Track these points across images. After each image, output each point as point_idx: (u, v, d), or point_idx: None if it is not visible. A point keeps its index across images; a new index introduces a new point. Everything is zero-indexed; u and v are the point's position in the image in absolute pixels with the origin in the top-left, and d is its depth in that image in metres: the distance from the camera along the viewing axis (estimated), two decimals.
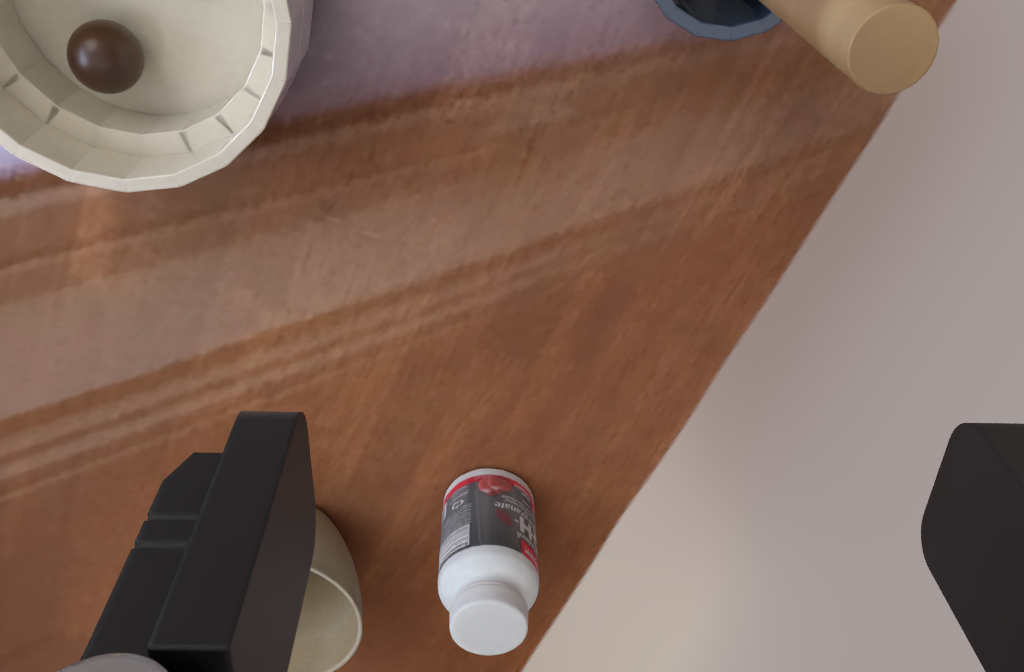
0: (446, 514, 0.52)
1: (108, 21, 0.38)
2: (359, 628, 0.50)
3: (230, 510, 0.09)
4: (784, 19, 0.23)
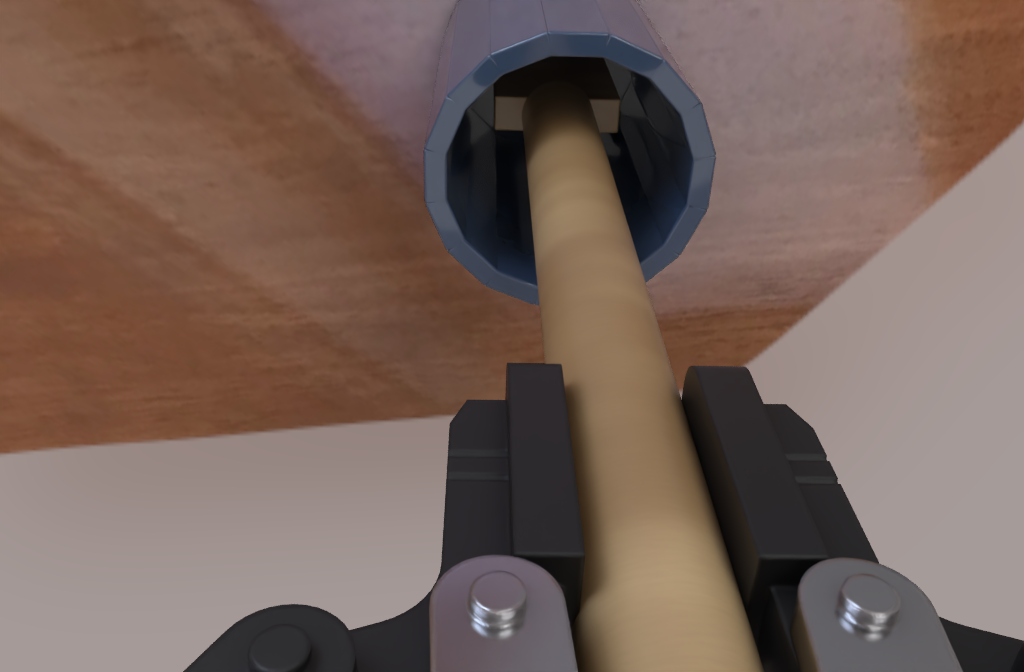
0: None
1: None
2: None
3: (536, 444, 0.10)
4: None
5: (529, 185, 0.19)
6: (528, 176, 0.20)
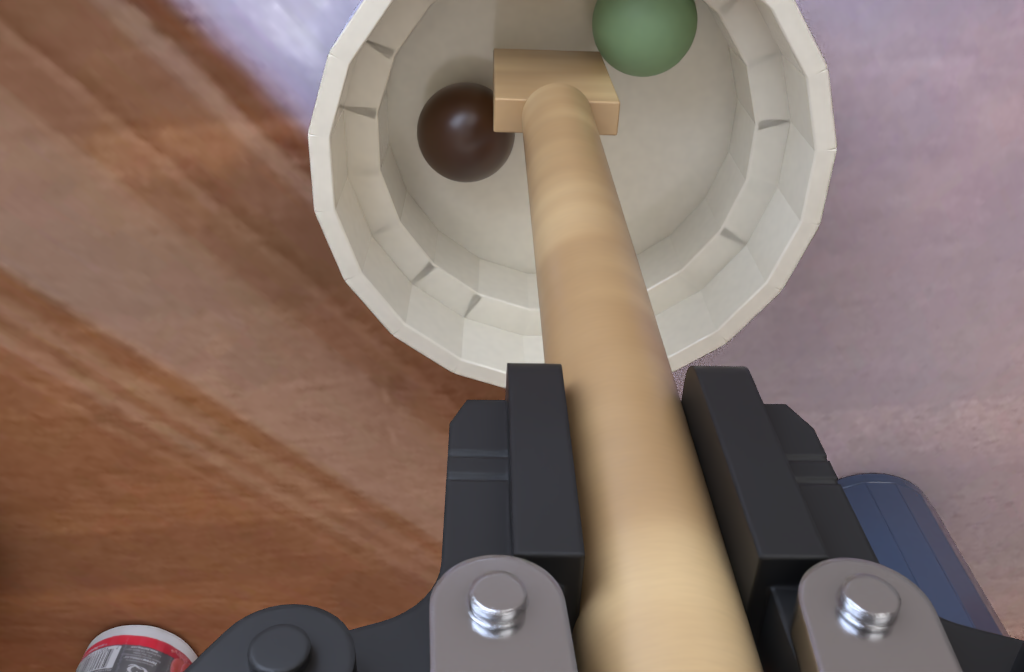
0: (114, 666, 0.41)
1: None
2: None
3: (536, 444, 0.10)
4: None
5: (529, 187, 0.19)
6: (528, 178, 0.20)
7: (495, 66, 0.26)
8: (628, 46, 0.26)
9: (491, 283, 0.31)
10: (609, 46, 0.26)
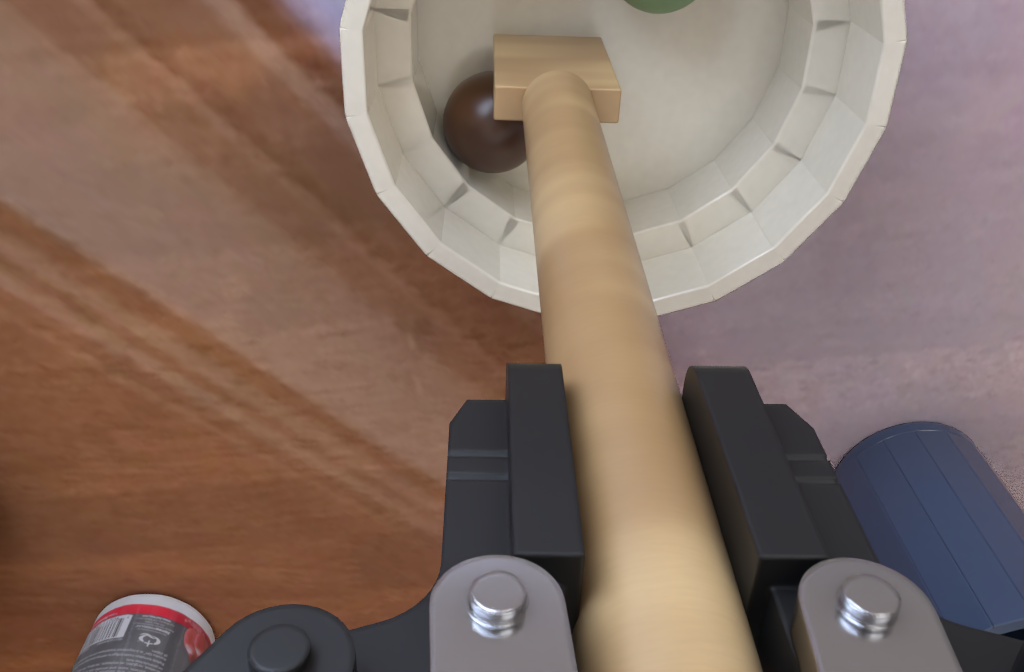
0: (125, 635, 0.39)
1: None
2: None
3: (536, 444, 0.10)
4: None
5: (529, 177, 0.19)
6: (528, 168, 0.20)
7: (495, 52, 0.26)
8: None
9: (527, 209, 0.29)
10: None
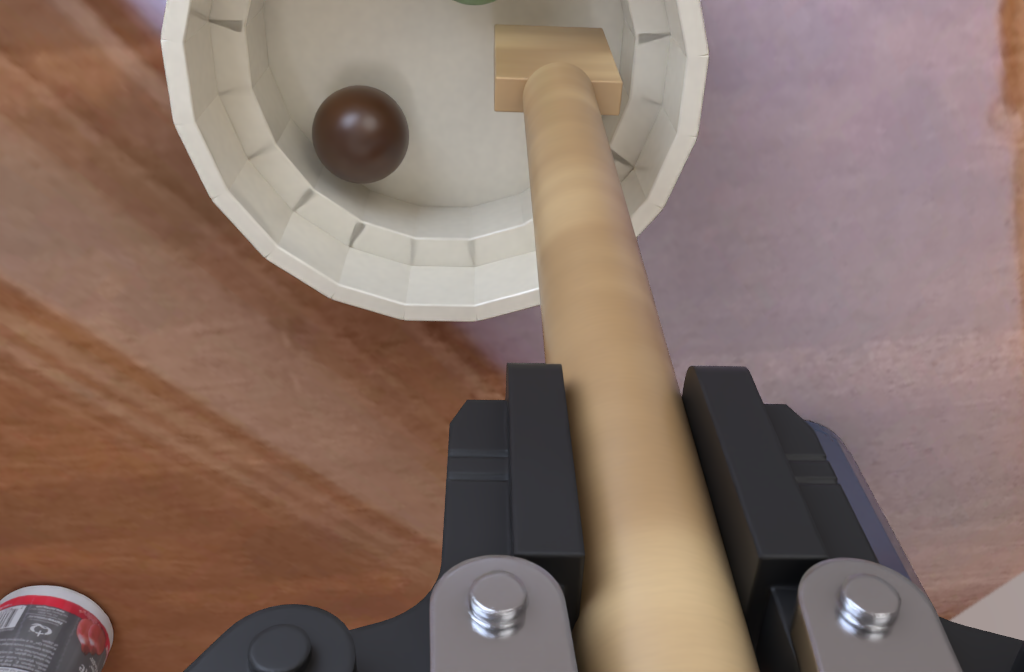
0: (16, 626, 0.39)
1: (402, 158, 0.29)
2: None
3: (536, 444, 0.10)
4: None
5: (530, 171, 0.19)
6: (529, 161, 0.20)
7: (496, 43, 0.26)
8: None
9: (378, 213, 0.30)
10: None
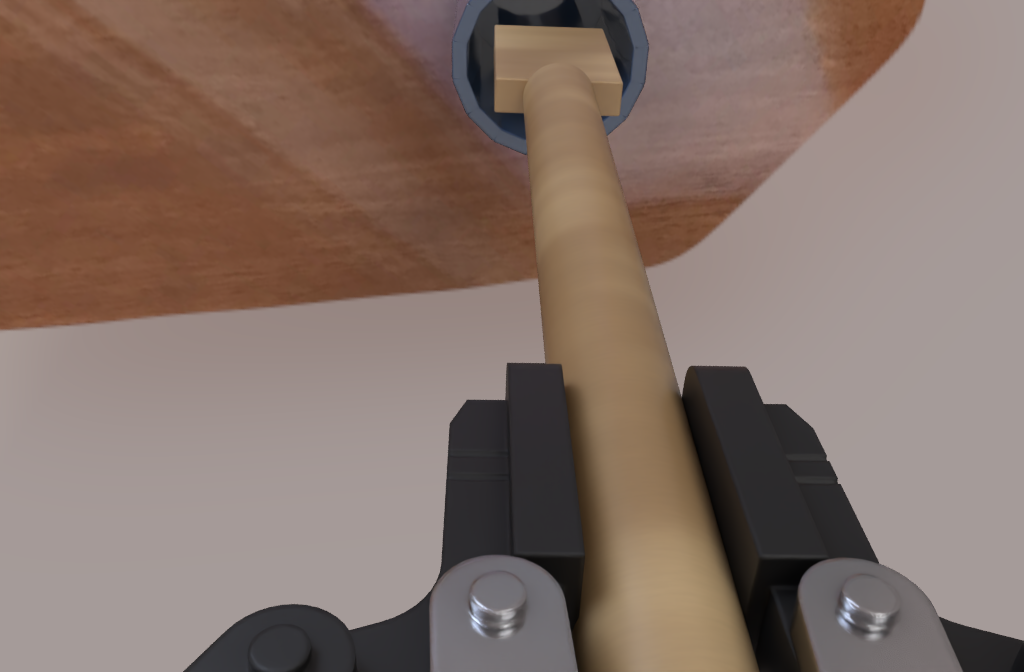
0: None
1: None
2: None
3: (536, 444, 0.10)
4: None
5: (530, 172, 0.19)
6: (529, 162, 0.20)
7: (496, 44, 0.26)
8: None
9: None
10: None
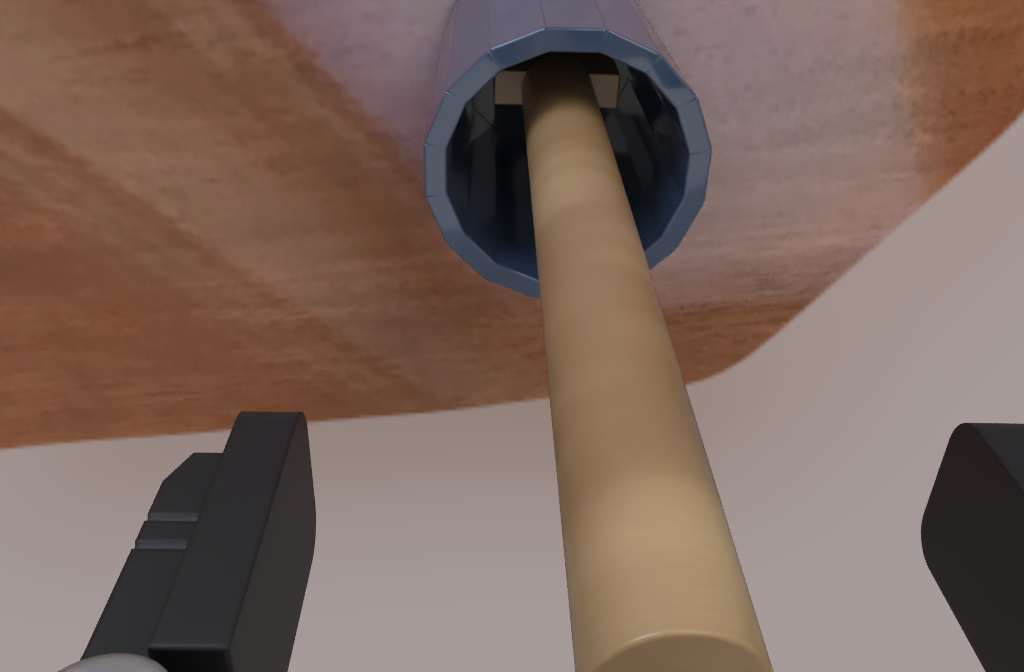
0: None
1: None
2: None
3: (230, 510, 0.09)
4: (558, 360, 0.12)
5: (528, 157, 0.19)
6: (527, 148, 0.20)
7: None
8: None
9: None
10: None
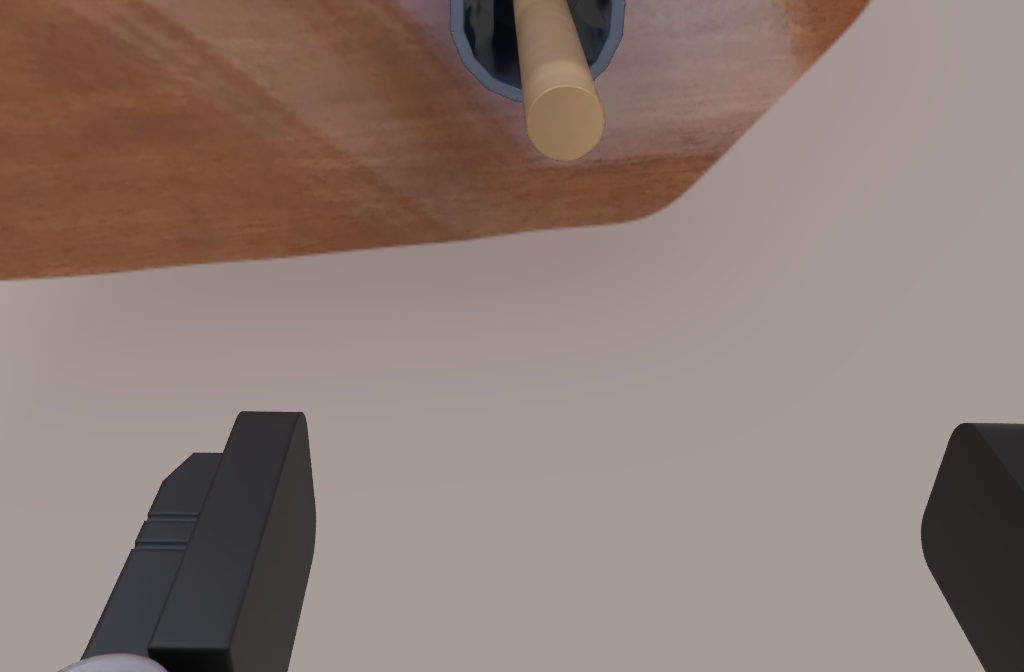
0: None
1: None
2: None
3: (230, 510, 0.09)
4: (523, 49, 0.25)
5: None
6: None
7: None
8: None
9: None
10: None
